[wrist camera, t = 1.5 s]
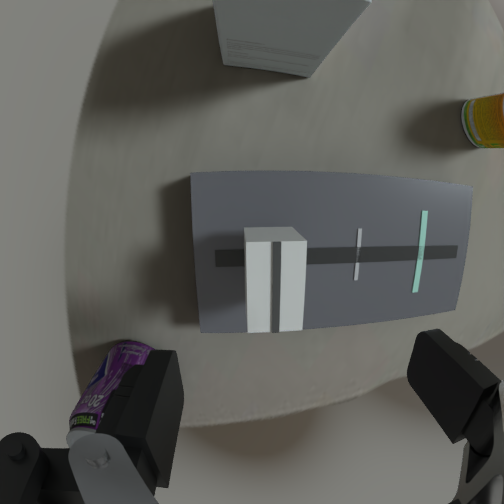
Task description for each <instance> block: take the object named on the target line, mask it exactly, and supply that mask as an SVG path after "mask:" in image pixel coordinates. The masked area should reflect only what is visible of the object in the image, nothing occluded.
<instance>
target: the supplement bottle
mask: <svg viewBox="0 0 504 504" xmlns="http://www.w3.org/2000/svg"><path fill="white" fill-rule="evenodd" d="M461 120H462V125H463V128H464V131H465V133H466V135H467V137H468V139H469V140H470V141H471V142H472V143H473V144H474V145H475V146H477V147H479V148H504V93H500V94H494V95H489V96H484V97H479V98H474V99H470V100H468V101H466V102H465V103H464V105H463V108H462V112H461Z"/></svg>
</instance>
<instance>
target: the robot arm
mask: <svg viewBox="0 0 504 504" xmlns="http://www.w3.org/2000/svg"><path fill="white" fill-rule="evenodd" d="M407 378H408V382H409V383H410V385H411V387H412V388H413V389H414V391H415V392H416V393H417V395H418V396H419V397H420V399H421V400H422V402H423V403H424V404H425V406H426V407H427V408H428V410H429V411H430V413H431V414H432V415H433V417H434V418H435V419H436V421H437V422H438V424H439V425H440V426H441V428H442V429H443V431H444V432H445V433H446V435H447V436H448V438H449V439H450V440H451V442H452V443H453V444H454V443H456V442H458V441H460V440H462V439H464V438H466V439H467V440H468V441H467V443H466V444H465V446H464V450H463V458H462V466H461V473H460V479H459V485H458V490H457V493H456V495H455V497H454V499H453V500H452V502H450V503H449V504H504V380H503V381H501V380H499V379H498V378H497V377H496V376H495V375H494V374H493V373H492V372H491V371H490V370H489V369H488V368H487V367H486V366H484V365H483V364H482V363H481V362H480V361H477V358H475V357H474V356H473V355H472V354H471V355H470V352H469V351H468V350H467V349H465V348H464V347H463V346H462V345H460V344H458V343H456V342H454V341H453V340H452V339H451V338H450V337H448V336H447V335H446V334H445V333H444V332H443V331H441V330H440V329H433V330H428V331H423V332H420V333H419V334H418V335H417V337H416V340H415V344H414V348H413V351H412V355H411V358H410V362H409V365H408V369H407ZM183 405H184V391H183V385H182V380H181V374H180V369H179V363H178V357H177V353H176V351H175V350H150V352H149V354H148V356H147V359H146V361H145V363H144V365H139V364H135V365H134V366H133V367H131V368H130V369H129V370H128V371H127V372H125V373H124V375H123V377H122V379H121V381H120V383H119V384H118V387H117V388H116V391H115V393H114V397H112V399H111V401H110V403H109V405H108V407H107V409H106V411H105V413H104V415H103V417H102V419H101V421H100V424H99V426H98V428H97V430H96V432H95V434H89V435H86V436H83V437H81V438H79V439H78V440H77V441H75V442H74V443H73V445H72V446H71V448H66V449H60V448H59V449H58V448H54V449H53V448H41V447H40V446H39V444H38V443H37V441H36V440H35V439H34V438H33V437H32V436H30V435H29V434H26V433H21V432H17V433H12V434H9V435H7V436H5V437H4V438H3V439H2V440H1V441H0V504H159V503H158V502H157V500H156V499H155V498H154V495H155V490H156V487H163V488H168V486H169V481H170V474H171V469H172V463H173V458H174V452H175V447H176V442H177V436H178V431H179V426H180V421H181V415H182V410H183Z"/></svg>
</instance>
